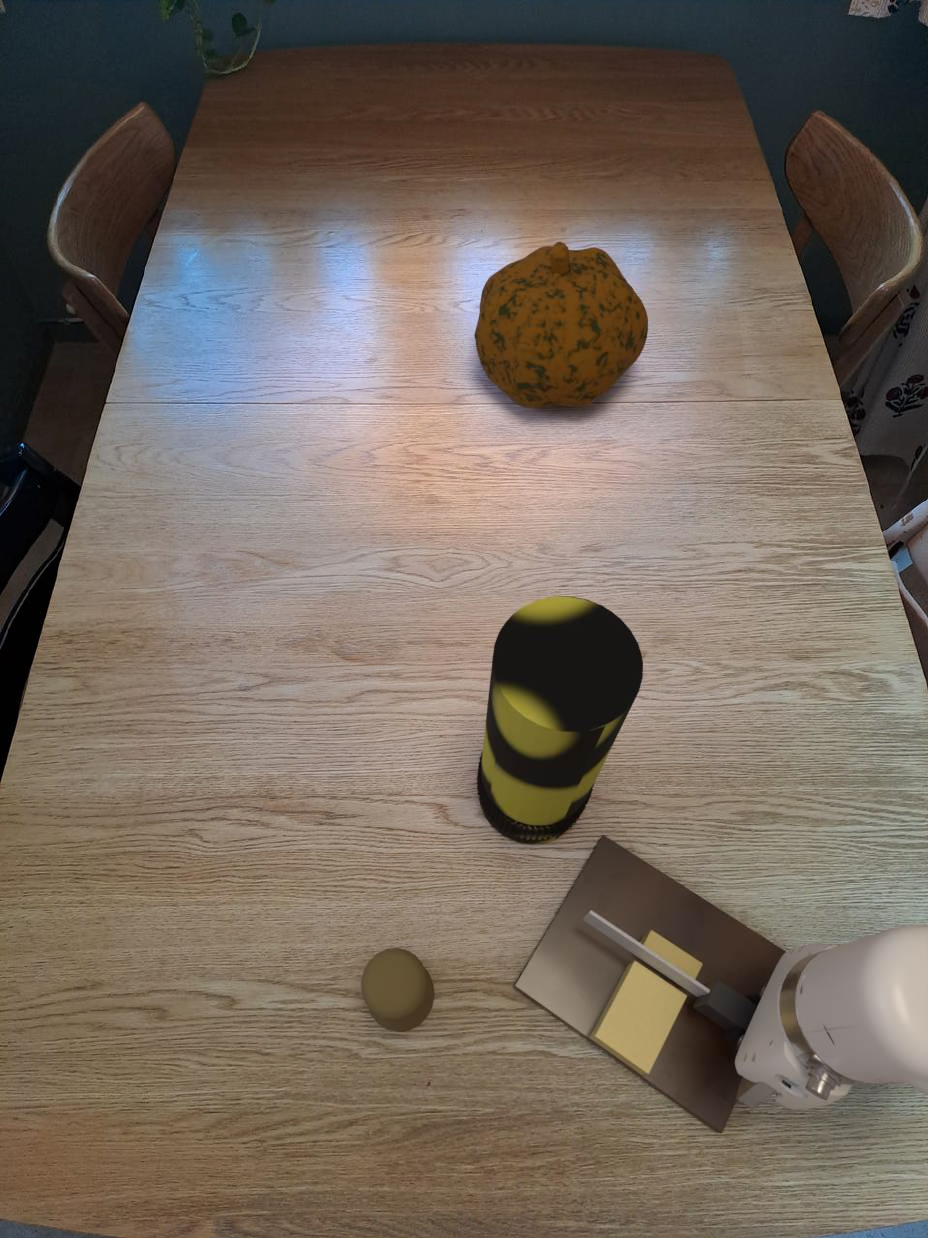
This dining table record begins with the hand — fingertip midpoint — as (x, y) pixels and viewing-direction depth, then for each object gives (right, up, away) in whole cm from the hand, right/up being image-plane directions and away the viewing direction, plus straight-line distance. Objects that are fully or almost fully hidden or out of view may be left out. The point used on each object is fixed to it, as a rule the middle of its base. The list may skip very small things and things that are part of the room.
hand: (749, 1029), depth 69 cm
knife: (-4, +2, +2) cm, 5 cm away
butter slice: (-6, +3, +6) cm, 9 cm away
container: (-17, +16, +15) cm, 28 cm away
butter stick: (-9, -1, +4) cm, 9 cm away
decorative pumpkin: (-12, +66, +42) cm, 79 cm away
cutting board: (-6, +2, +7) cm, 9 cm away
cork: (-29, 0, +6) cm, 30 cm away
